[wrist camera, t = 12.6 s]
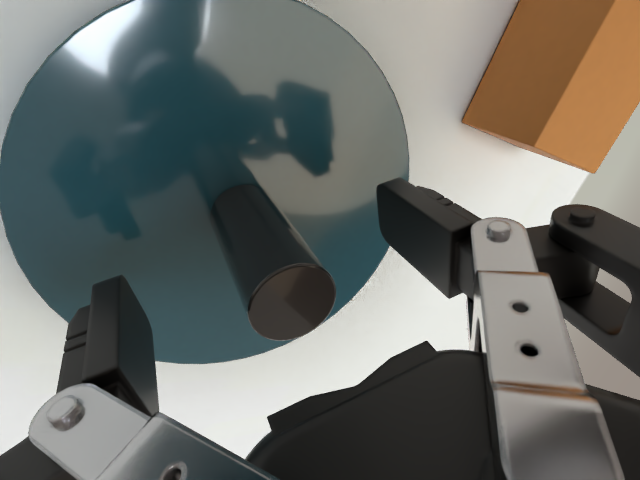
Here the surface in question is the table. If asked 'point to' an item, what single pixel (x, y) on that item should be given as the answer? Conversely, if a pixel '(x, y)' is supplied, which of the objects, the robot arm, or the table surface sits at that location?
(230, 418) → the table surface
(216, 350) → the lid
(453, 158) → the table surface
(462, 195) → the table surface
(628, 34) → the orange rectangular block
